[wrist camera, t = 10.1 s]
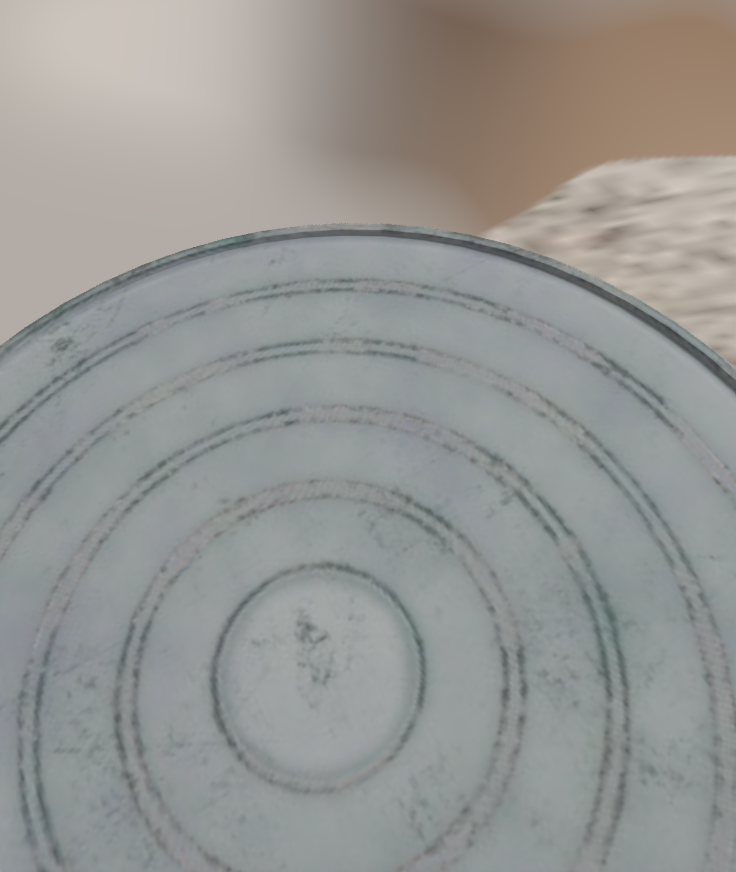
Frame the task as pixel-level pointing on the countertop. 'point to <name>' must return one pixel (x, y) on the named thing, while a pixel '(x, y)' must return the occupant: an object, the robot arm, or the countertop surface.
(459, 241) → the canned food
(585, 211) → the countertop surface
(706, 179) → the countertop surface
